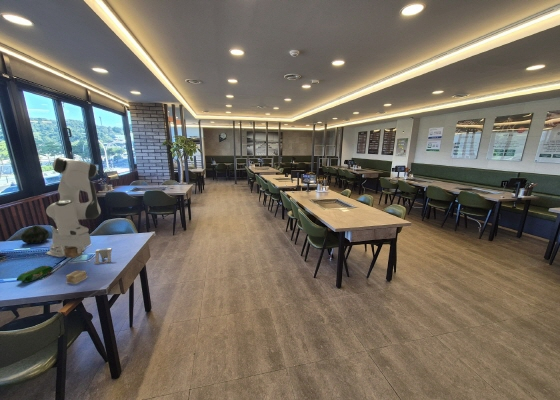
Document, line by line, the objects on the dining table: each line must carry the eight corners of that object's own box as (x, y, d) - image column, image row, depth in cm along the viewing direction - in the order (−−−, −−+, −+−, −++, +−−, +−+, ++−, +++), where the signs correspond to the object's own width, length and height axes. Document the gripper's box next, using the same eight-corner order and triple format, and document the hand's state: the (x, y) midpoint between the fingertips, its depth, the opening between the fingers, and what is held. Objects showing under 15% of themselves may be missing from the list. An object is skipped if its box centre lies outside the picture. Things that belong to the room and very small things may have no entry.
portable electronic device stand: (94, 265, 148) (92, 253, 146) (98, 260, 155) (97, 248, 153) (110, 263, 151) (108, 251, 149) (113, 258, 158) (112, 247, 156)
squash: (25, 233, 184) (19, 223, 174) (51, 231, 193) (47, 221, 183) (23, 249, 178) (17, 239, 168) (50, 245, 186) (45, 236, 177)
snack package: (14, 284, 125) (12, 276, 124) (47, 270, 140) (45, 262, 139) (24, 286, 124) (22, 277, 123) (56, 271, 139) (54, 264, 138)
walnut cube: (65, 257, 125) (64, 249, 124) (74, 253, 130) (73, 245, 129) (73, 258, 124) (72, 249, 123) (82, 253, 129) (81, 245, 128)
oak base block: (67, 282, 127) (66, 275, 126) (77, 276, 133) (76, 270, 132) (76, 283, 126) (75, 276, 126) (86, 277, 132) (85, 271, 131)
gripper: (46, 230, 122) (51, 254, 125) (80, 232, 120) (84, 256, 122) (58, 226, 128) (63, 249, 131) (91, 228, 126) (95, 251, 129)
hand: (73, 252), depth 127 cm, fingers closed on walnut cube, 5 cm apart
